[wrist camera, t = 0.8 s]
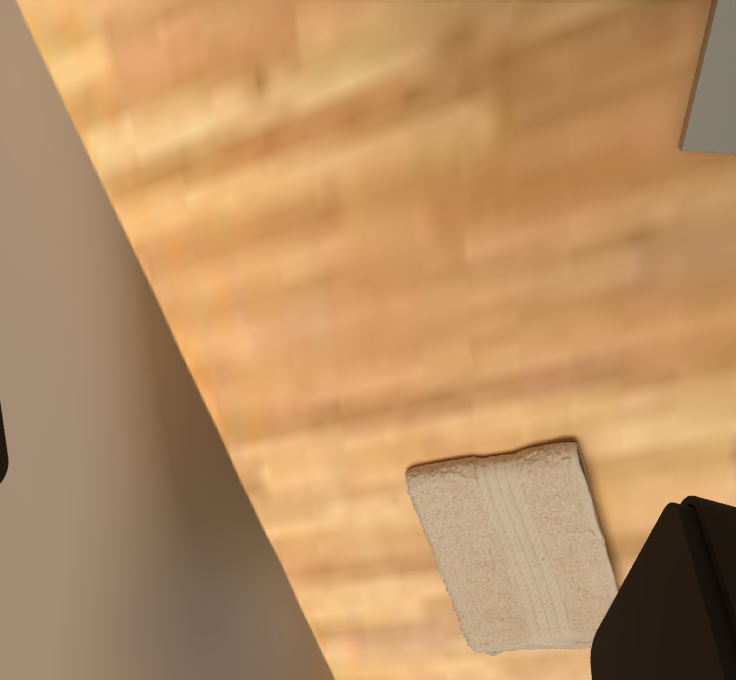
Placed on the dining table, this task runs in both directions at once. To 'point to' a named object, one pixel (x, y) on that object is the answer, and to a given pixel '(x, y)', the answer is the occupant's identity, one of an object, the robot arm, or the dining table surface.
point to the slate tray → (714, 87)
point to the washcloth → (518, 547)
